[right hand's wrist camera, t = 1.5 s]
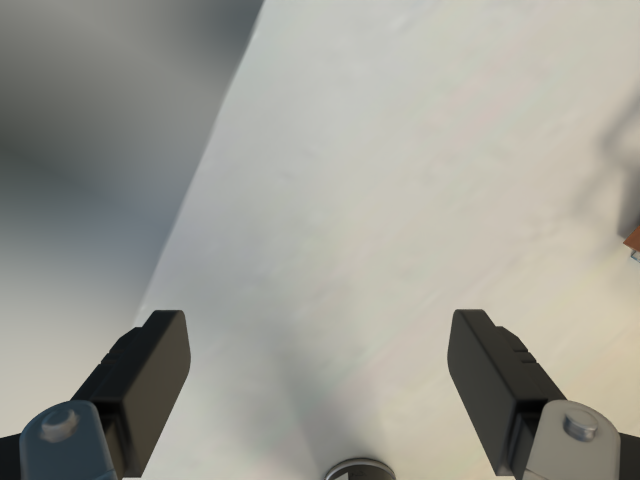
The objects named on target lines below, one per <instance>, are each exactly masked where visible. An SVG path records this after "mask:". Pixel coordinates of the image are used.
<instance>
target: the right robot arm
mask: <svg viewBox="0 0 640 480" xmlns="http://www.w3.org/2000/svg"><path fill="white" fill-rule="evenodd" d="M447 360H448V368H449V372H450V375H451V377H452V379H453V382H454V384H455V386H456V388H457V390H458V393H459V395H460V397H461V399H462V401H463V404H464V406H465V408H466V410H467V413H468V415H469V417H470V419H471V421H472V424H473V426H474V428H475V430H476V432H477V435H478V437H479V439H480V441H481V443H482V446H483V448H484V450H485V452H486V455H487V457H488V459H489V461H490V463H491V466H492V468H493V470H494V472H495V474H496V476H514V477H515V479H516V480H640V437H635V436H631V435H627V434H623V433H619V432H618V431H617V429H616V428H615V427H614V425H613V424H612V423H611V422H610V421H609V420H608V419H607V418H606V417H604V416H603V415H602V414H600V413H599V412H597V411H596V410H594V409H592V408H590V407H588V406H586V405H583V404H580V403H577V402H573V401H568V400H567V399H566V397H565V396H564V395H563V394H562V392H561V391H560V390H559V388H558V387H557V386H556V385H555V383H554V382H553V381H552V380H551V378H550V377H549V376H548V375H547V373H546V372H545V371H544V369H543V368H542V367H541V366H540V364H539V363H536V359H535V358H534V357H533V356H532V354H531V353H530V352H528V349H527V348H526V347H525V345H524V344H523V343H522V342H521V340H520V339H519V338H518V337H517V336H516V335H514V334H513V333H511V332H510V331H508V330H507V329H505V328H504V327H502V326H495V325H494V323H493V322H492V321H491V319H490V318H489V317H488V315H487V314H486V312H485V311H484V310H482V309H457V310H455V312H454V314H453V319H452V326H451V333H450V339H449V346H448V354H447ZM190 362H191V354H190V347H189V340H188V333H187V327H186V320H185V315H184V312H183V311H182V310H155V311H154V312H153V313H152V314H151V316H150V317H149V318H148V320H147V321H146V322H145V324H144V325H143V326H142V327H135V328H133V329H132V330H131V331H129V332H128V333H126V334H125V335H123V336H122V337H120V338H119V339H118V341H117V342H116V343H115V344H114V346H113V347H112V348H111V349H110V351H109V353H107V354H106V356H105V357H104V358H103V360H102V361H101V364H99V365H98V366H97V367H96V368H95V369H94V371H93V372H92V373H91V374H90V376H89V377H88V378H87V380H86V381H85V382H84V383H83V385H82V386H81V387H80V388H79V390H78V391H77V392H76V393H75V395H74V396H73V397H72V398H71V400H70V401H67V402H63V403H60V404H57V405H54V406H52V407H50V408H48V409H46V410H45V411H43V412H41V413H40V414H38V415H37V416H36V417H35V418H33V419H32V420H31V421H30V422H29V423H28V424H27V425H26V427H25V428H24V430H23V431H22V433H19V434H16V435H11V436H7V437H3V438H0V480H122V478H141V476H142V474H143V472H144V470H145V468H146V465H147V463H148V461H149V459H150V457H151V454H152V452H153V450H154V448H155V446H156V444H157V441H158V439H159V437H160V435H161V433H162V430H163V428H164V426H165V424H166V422H167V419H168V417H169V415H170V413H171V411H172V409H173V406H174V404H175V402H176V400H177V398H178V395H179V393H180V391H181V389H182V387H183V385H184V382H185V380H186V378H187V376H188V373H189V369H190ZM324 480H396V477H395V475H394V473H393V472H392V470H391V469H390V468H388V467H387V466H386V465H384V464H382V463H380V462H377V461H374V460H369V459H353V460H349V461H345V462H342V463H340V464H338V465H336V466H335V467H334V468H332V469H331V470H330V471H329V472H328V474H327V475H326V477H325V479H324Z"/></svg>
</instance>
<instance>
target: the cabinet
mask: <svg viewBox="0 0 640 480" xmlns="http://www.w3.org/2000/svg"><path fill="white" fill-rule="evenodd" d="M631 257H632V258H634V259H635V260H637V261H638V262H640V253H639V252H637V251H636V252H635V254H634V255H633V256H631Z"/></svg>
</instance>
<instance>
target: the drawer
mask: <svg viewBox="0 0 640 480" xmlns="http://www.w3.org/2000/svg"><path fill="white" fill-rule="evenodd" d="M623 243H624V244H625V245H627V246H628V247H630V248H631V249H633V250H635V251H637V252H639V253H640V225H639V226H638V227H637V228H636V229H635V230H634V232H633V233H632V234H631V235H630V236H629V237H628V238H627V239H626V240H625V241H624V242H623Z"/></svg>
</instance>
